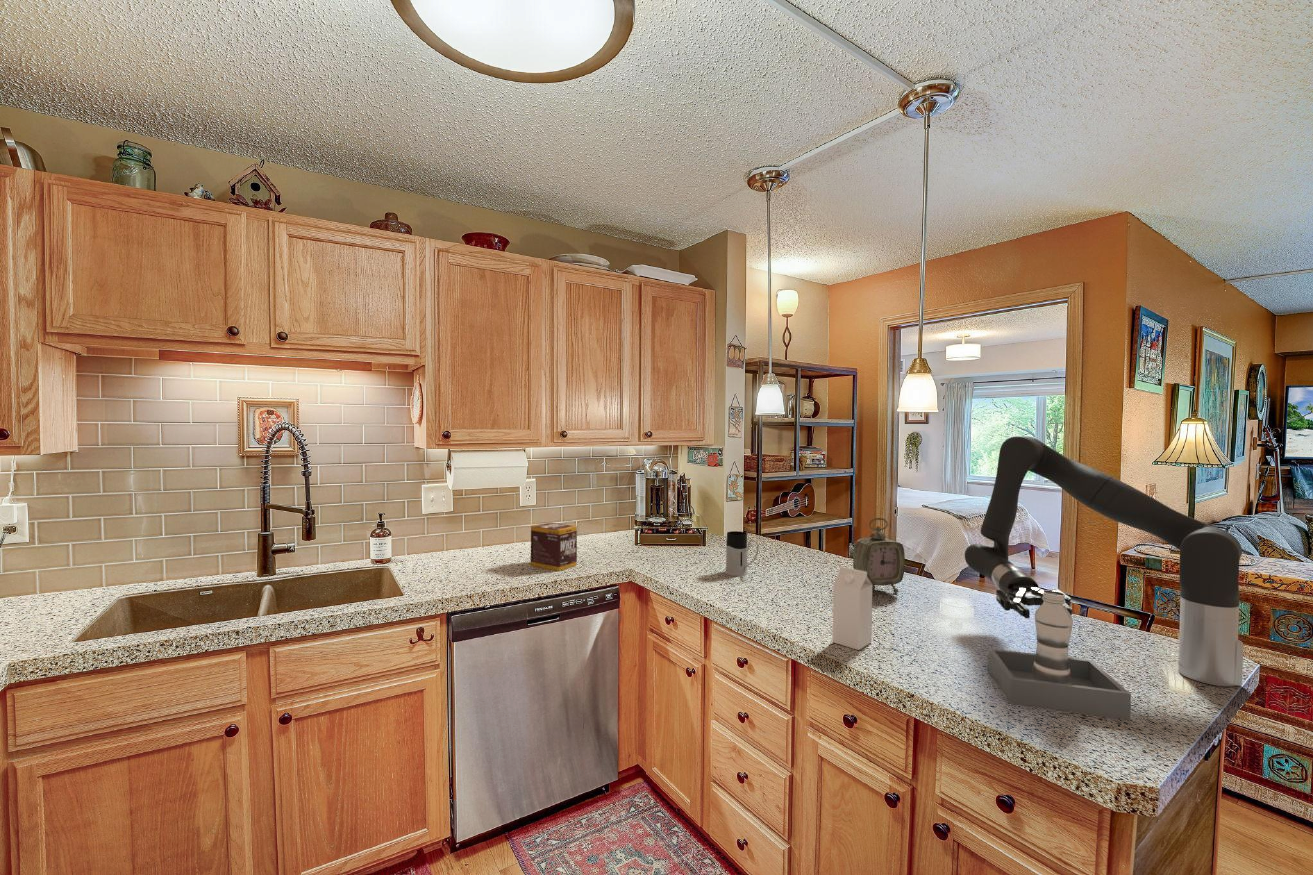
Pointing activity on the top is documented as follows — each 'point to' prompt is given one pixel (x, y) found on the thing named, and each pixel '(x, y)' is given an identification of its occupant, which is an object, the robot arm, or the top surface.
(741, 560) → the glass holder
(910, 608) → the top surface
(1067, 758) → the top surface
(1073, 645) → the top surface
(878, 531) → the tabletop clock
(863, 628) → the milk carton
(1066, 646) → the silver bottle
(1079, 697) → the bin
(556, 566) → the supplement box
